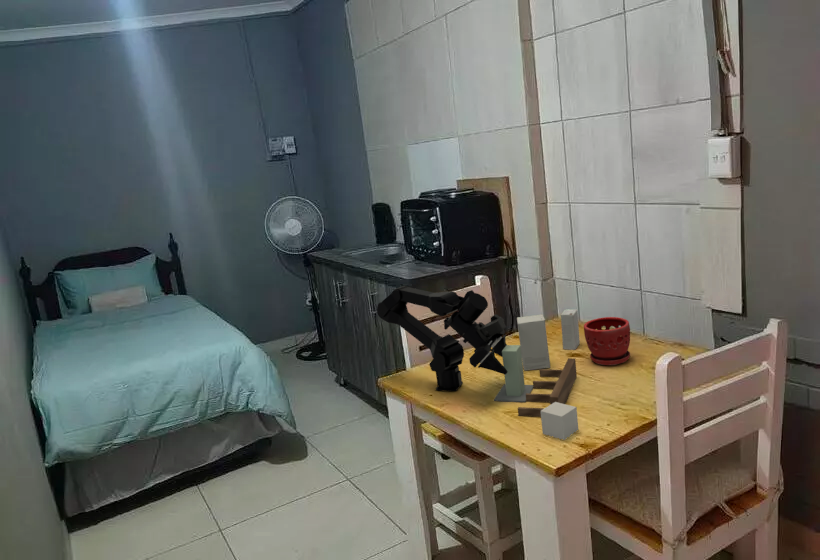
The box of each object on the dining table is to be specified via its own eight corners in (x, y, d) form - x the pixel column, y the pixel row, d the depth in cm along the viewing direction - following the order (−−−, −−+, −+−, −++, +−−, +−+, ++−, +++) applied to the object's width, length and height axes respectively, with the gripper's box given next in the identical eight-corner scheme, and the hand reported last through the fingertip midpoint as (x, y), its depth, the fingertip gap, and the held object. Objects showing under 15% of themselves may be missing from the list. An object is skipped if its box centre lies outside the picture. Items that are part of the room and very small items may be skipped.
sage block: (506, 395, 171) (501, 351, 168) (511, 388, 175) (506, 345, 173) (521, 396, 169) (516, 351, 167) (525, 389, 174) (520, 345, 171)
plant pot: (603, 350, 196) (600, 314, 194) (640, 357, 186) (638, 319, 183) (577, 363, 189) (574, 325, 186) (614, 371, 178) (612, 332, 176)
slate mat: (493, 401, 170) (493, 399, 170) (504, 385, 179) (504, 384, 179) (525, 402, 166) (525, 401, 166) (534, 386, 176) (534, 385, 176)
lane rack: (518, 415, 159) (516, 395, 158) (540, 375, 183) (538, 358, 182) (559, 417, 154) (557, 397, 153) (576, 376, 178) (575, 358, 177)
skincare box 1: (548, 361, 193) (543, 313, 190) (550, 368, 187) (546, 319, 184) (521, 363, 194) (516, 316, 191) (523, 371, 188) (517, 322, 185)
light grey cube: (557, 424, 151) (555, 401, 150) (578, 430, 147) (576, 407, 146) (542, 434, 148) (540, 410, 146) (564, 440, 143) (561, 416, 142)
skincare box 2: (567, 343, 207) (564, 308, 205) (580, 343, 205) (577, 308, 202) (562, 349, 202) (559, 314, 199) (576, 350, 200) (573, 314, 197)
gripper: (476, 319, 162) (521, 360, 160) (495, 300, 178) (536, 336, 176) (451, 347, 167) (495, 387, 164) (471, 326, 183) (512, 362, 181)
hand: (510, 366), depth 171 cm, fingers open, 9 cm apart
